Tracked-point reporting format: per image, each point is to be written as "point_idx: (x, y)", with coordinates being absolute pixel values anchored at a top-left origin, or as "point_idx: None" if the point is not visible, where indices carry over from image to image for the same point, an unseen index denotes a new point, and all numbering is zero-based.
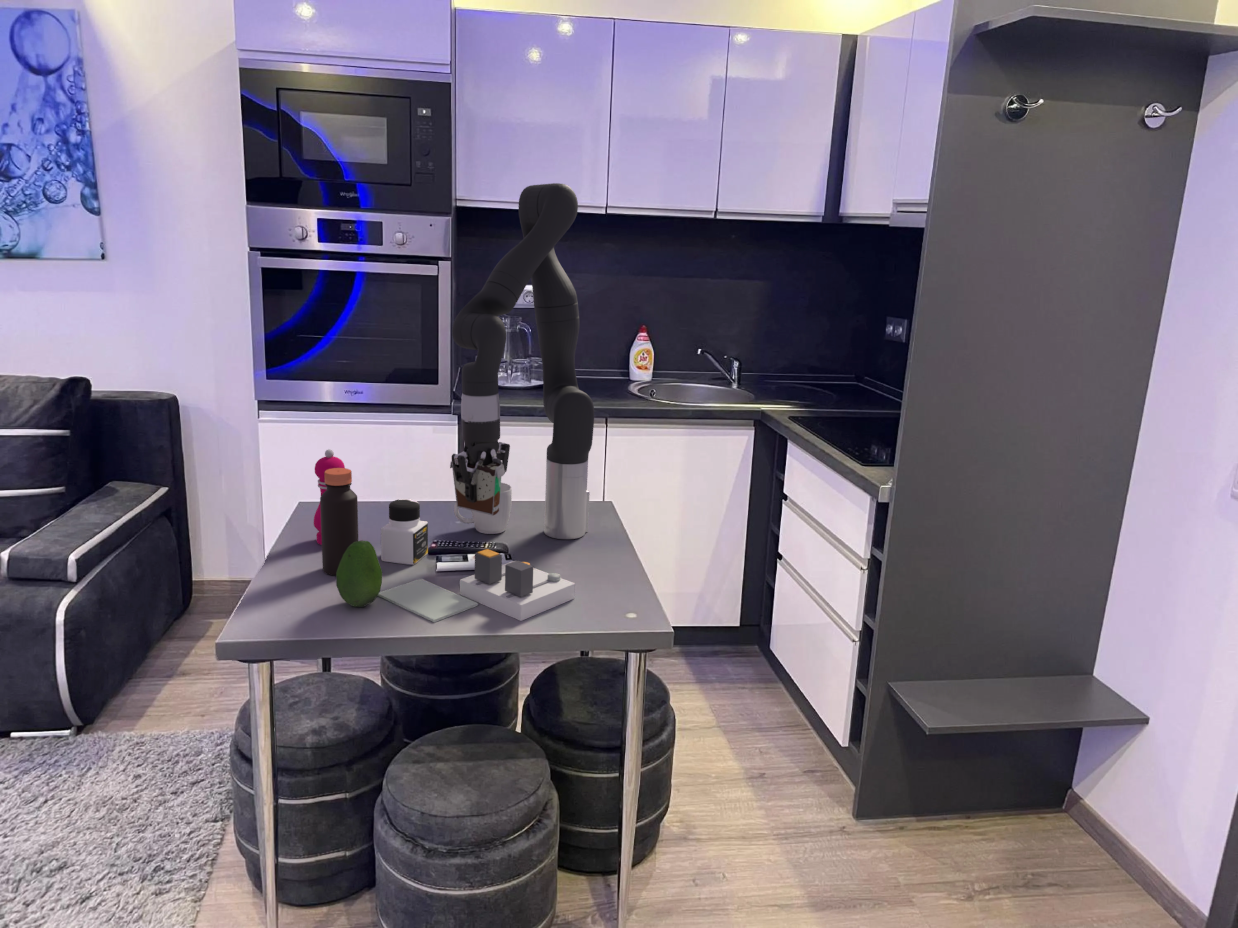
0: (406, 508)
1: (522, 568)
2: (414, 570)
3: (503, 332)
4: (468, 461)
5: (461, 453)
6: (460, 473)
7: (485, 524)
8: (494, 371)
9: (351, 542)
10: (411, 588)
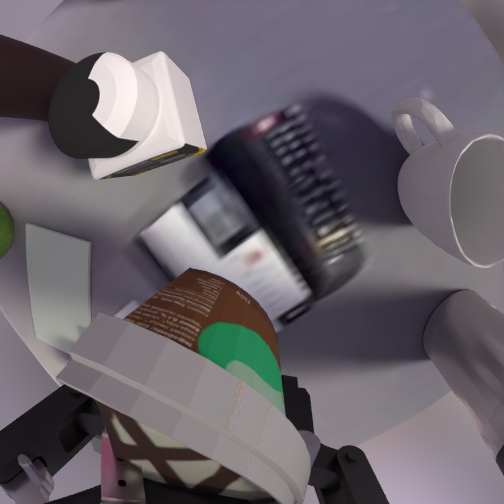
0: (59, 146)
1: (100, 451)
2: (117, 195)
3: None
4: (96, 486)
5: (16, 501)
6: (67, 419)
7: (402, 199)
8: None
9: (13, 117)
10: (58, 256)
